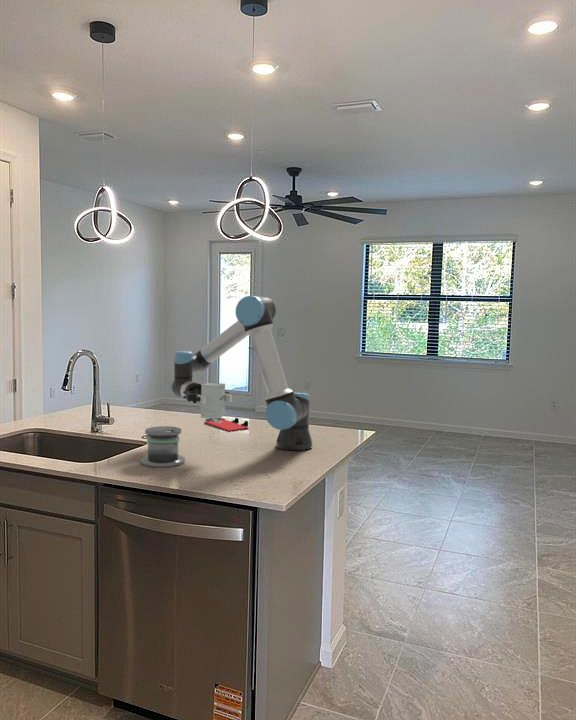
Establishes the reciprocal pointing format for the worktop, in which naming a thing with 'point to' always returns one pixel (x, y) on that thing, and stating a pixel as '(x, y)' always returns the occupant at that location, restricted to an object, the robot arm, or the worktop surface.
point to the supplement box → (213, 400)
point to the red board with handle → (227, 424)
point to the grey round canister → (162, 447)
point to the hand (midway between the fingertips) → (218, 399)
